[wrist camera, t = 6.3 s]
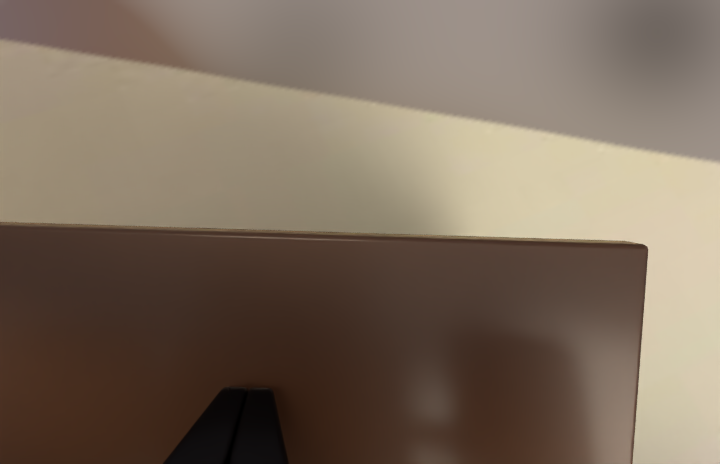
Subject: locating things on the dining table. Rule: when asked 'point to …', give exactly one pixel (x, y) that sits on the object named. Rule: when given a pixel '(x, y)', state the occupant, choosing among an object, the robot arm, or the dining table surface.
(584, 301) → the lid
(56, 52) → the dining table surface
